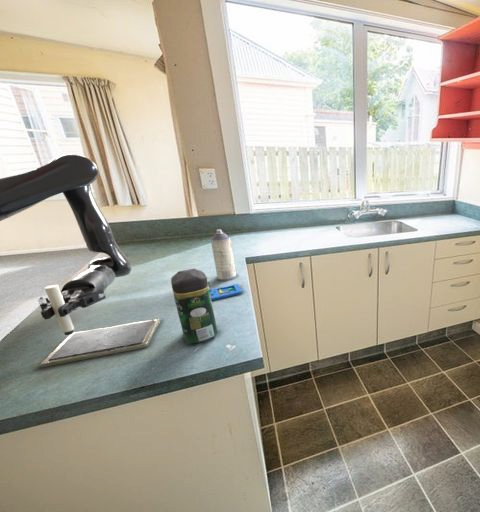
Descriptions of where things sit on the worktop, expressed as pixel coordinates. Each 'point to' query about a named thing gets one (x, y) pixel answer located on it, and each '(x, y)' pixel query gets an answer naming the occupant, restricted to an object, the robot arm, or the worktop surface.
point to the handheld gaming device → (225, 291)
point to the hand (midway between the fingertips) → (53, 314)
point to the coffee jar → (194, 305)
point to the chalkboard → (103, 342)
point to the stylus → (56, 303)
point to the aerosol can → (223, 256)
